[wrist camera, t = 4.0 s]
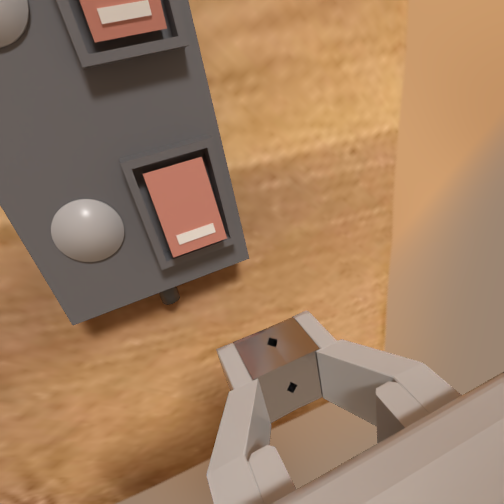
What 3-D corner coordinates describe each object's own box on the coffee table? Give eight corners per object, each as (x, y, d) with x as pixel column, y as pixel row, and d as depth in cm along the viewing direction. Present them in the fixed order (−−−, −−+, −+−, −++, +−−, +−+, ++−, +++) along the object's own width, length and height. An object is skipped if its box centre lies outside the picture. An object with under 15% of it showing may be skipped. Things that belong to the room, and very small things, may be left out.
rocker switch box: (-172, -140, 12) (-284, -234, 9) (132, -159, 15) (141, -237, 11) (89, 322, 23) (87, 364, 19) (240, 264, 26) (262, 292, 22)
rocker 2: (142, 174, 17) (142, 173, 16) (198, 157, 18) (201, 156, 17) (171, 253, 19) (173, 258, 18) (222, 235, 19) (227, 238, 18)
